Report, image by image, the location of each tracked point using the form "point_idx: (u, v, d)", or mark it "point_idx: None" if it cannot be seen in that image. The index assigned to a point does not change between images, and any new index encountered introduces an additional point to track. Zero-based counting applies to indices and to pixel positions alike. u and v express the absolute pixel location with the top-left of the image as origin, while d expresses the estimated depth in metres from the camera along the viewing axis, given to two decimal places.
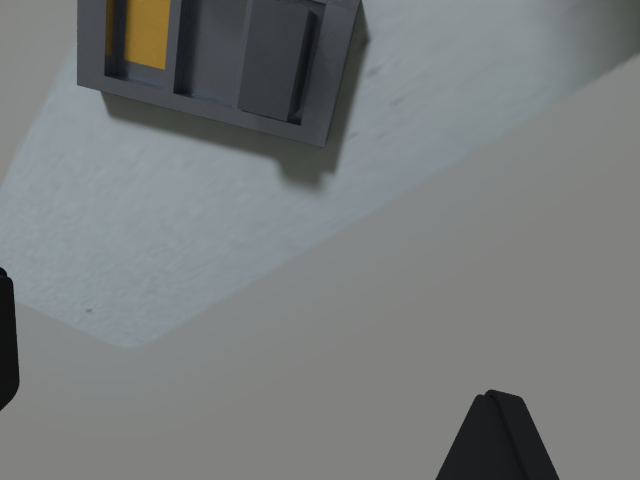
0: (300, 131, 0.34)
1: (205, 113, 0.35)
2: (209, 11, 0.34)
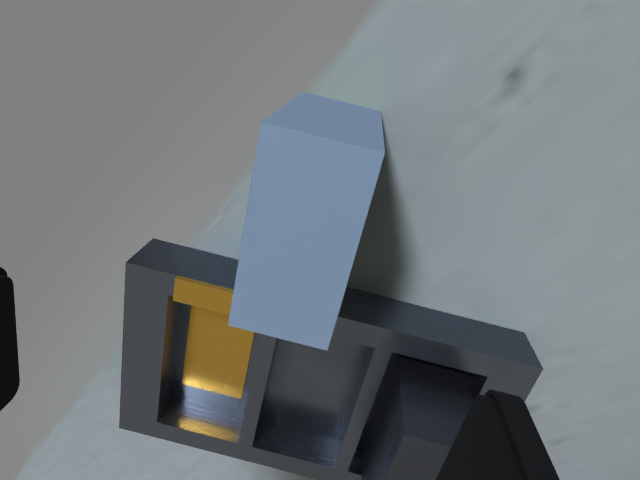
0: None
1: (296, 469, 0.25)
2: None
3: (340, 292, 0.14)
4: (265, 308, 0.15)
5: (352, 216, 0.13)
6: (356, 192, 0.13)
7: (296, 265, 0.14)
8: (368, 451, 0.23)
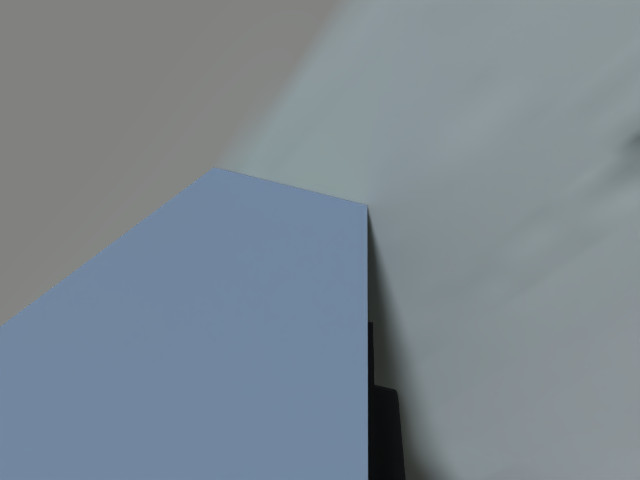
0: None
1: None
2: None
3: None
4: None
5: None
6: None
7: None
8: None
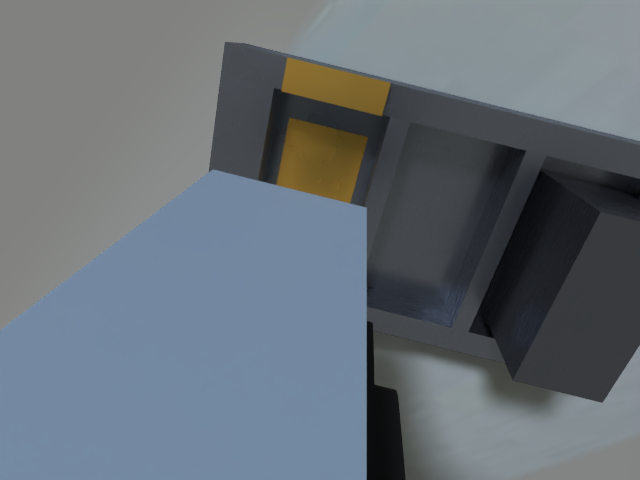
0: None
1: (405, 332, 0.21)
2: (421, 173, 0.20)
3: None
4: None
5: None
6: None
7: None
8: (500, 298, 0.20)
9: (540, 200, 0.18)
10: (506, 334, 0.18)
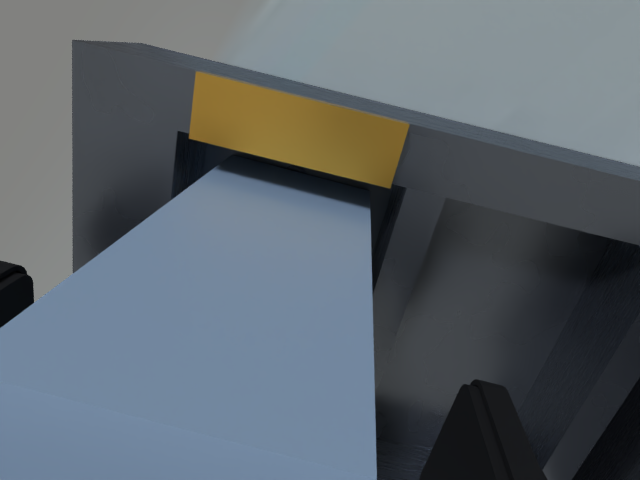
0: None
1: None
2: (456, 270, 0.12)
3: None
4: None
5: None
6: None
7: None
8: None
9: None
10: None
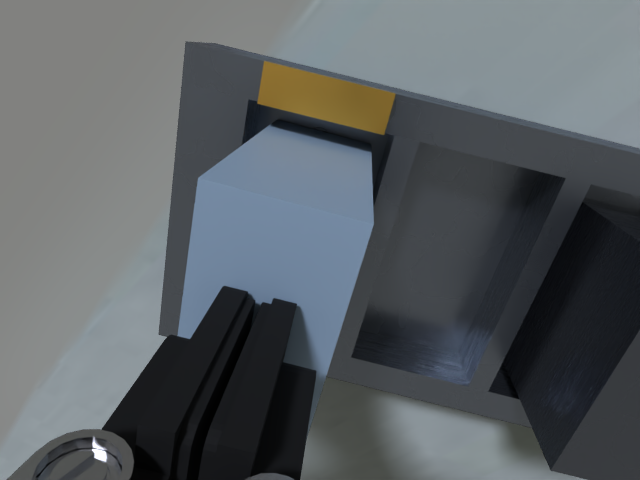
0: None
1: (411, 391, 0.18)
2: (431, 201, 0.17)
3: (313, 400, 0.10)
4: None
5: (328, 306, 0.09)
6: (333, 275, 0.09)
7: None
8: (529, 354, 0.16)
9: (581, 238, 0.15)
10: (539, 404, 0.15)
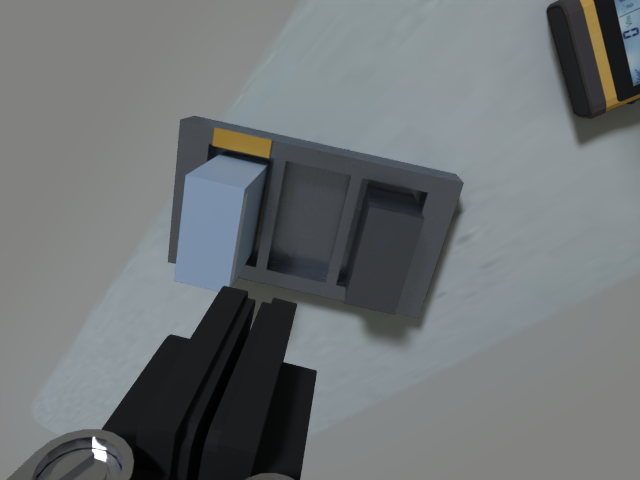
0: None
1: (298, 287, 0.34)
2: (302, 189, 0.34)
3: (231, 260, 0.27)
4: (193, 270, 0.28)
5: (233, 220, 0.26)
6: (233, 208, 0.26)
7: (207, 246, 0.27)
8: (350, 262, 0.33)
9: (364, 203, 0.32)
10: (347, 281, 0.31)
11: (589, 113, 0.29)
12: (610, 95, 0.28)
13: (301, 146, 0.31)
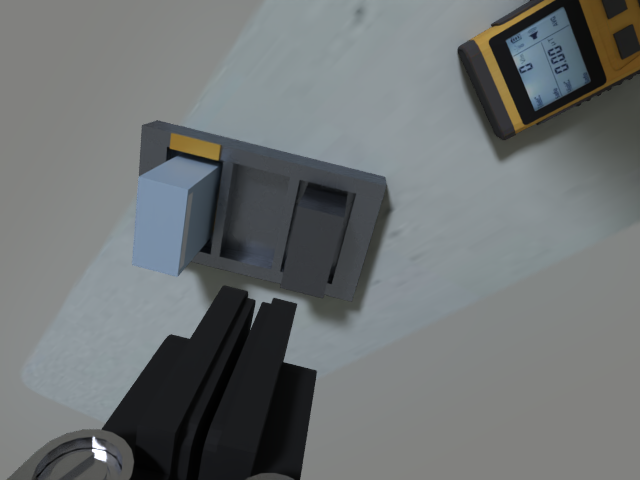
0: (331, 288, 0.39)
1: (247, 272, 0.39)
2: (251, 187, 0.38)
3: (179, 248, 0.32)
4: (148, 256, 0.33)
5: (179, 215, 0.31)
6: (179, 205, 0.31)
7: (159, 236, 0.32)
8: None
9: None
10: None
11: (502, 136, 0.33)
12: (516, 121, 0.32)
13: (246, 151, 0.35)
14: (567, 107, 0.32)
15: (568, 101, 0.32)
